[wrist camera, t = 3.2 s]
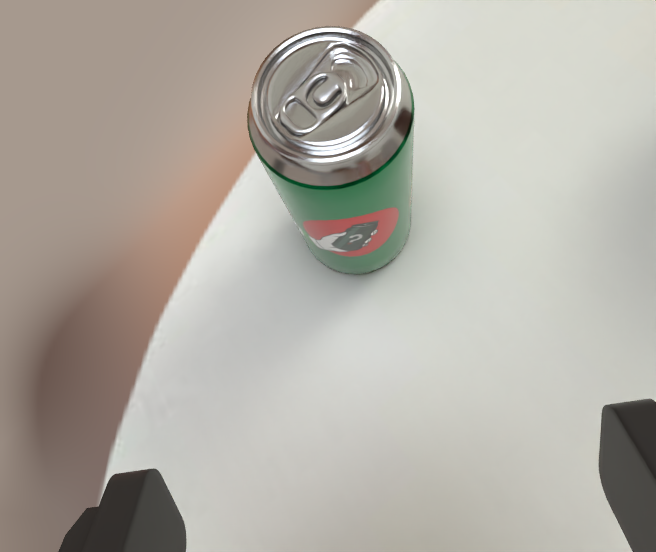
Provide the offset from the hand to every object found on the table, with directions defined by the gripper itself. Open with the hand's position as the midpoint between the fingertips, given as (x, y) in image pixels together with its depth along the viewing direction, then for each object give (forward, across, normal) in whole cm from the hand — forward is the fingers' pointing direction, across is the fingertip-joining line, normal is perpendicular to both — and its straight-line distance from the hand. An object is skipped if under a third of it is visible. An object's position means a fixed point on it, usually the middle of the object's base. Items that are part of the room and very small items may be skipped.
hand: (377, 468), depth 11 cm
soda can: (+18, 0, +4) cm, 19 cm away
